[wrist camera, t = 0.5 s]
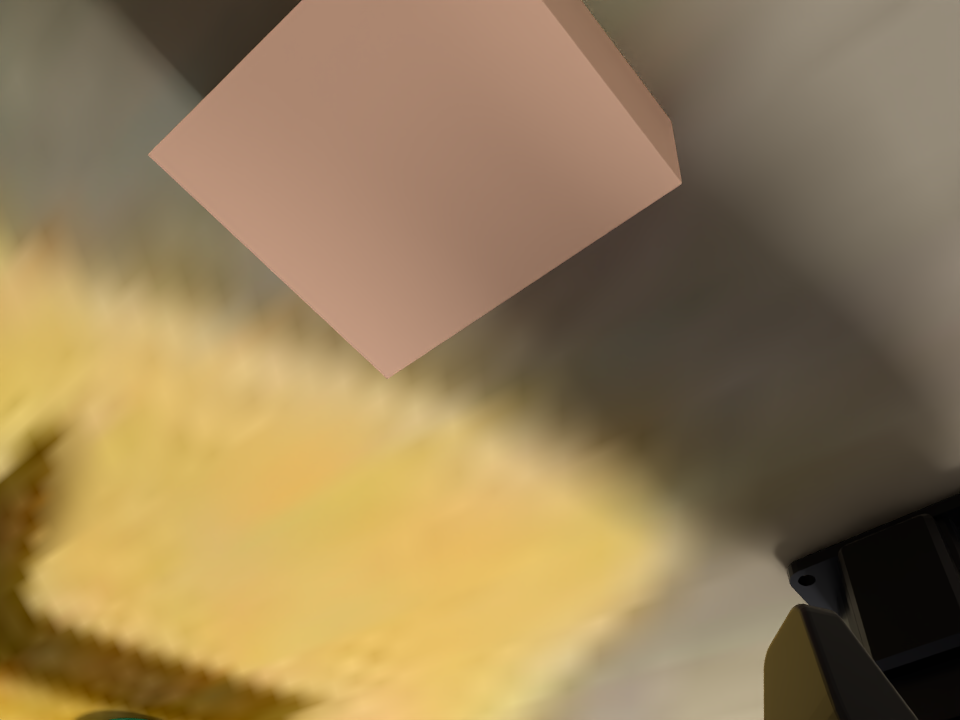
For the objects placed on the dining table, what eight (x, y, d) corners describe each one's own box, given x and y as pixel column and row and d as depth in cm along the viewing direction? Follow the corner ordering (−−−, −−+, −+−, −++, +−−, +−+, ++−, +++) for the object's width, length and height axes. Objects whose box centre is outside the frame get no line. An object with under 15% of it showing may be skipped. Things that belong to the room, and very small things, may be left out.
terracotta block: (670, 116, 20) (682, 183, 17) (413, 299, 23) (387, 378, 20) (464, -161, 17) (438, -137, 14) (209, 94, 21) (147, 154, 18)
